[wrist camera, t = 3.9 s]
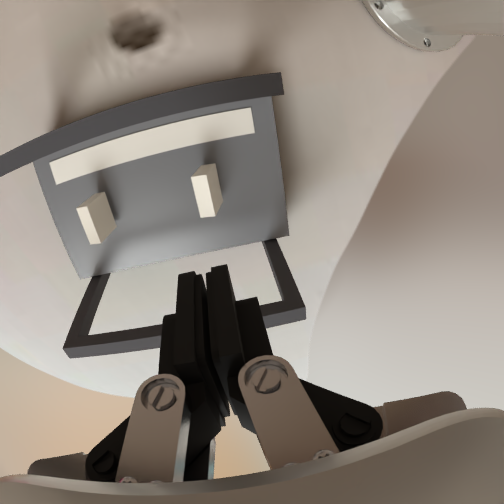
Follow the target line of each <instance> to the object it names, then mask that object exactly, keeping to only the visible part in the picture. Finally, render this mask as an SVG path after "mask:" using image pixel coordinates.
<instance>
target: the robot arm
mask: <svg viewBox="0 0 504 504" xmlns="http://www.w3.org/2000/svg"><path fill="white" fill-rule="evenodd" d="M362 2H363V3H364V5H365V7H366V8H367V10H368V11H369V13H370V14H371V15H372V17H373V18H374V19H375V20H376V22H377V23H378V24H379V25H380V26H381V27H382V28H383V29H384V30H385V31H386V32H387V33H389V34H390V35H391V36H393V37H394V38H395V39H397V40H398V41H400V42H401V43H403V44H405V45H407V46H409V47H412V48H415V49H417V50H422V51H429V52H432V51H444V50H448V49H450V48H451V47H453V46H455V45H456V44H457V43H458V42H459V41H460V40H461V38H462V37H463V35H496V36H504V0H362ZM375 6H376V7H375ZM206 286H207V290H206V287H205V283H204V280H203V277H202V274H199V275H196V273H195V271H192V272H188V273H183V274H179V275H178V287H177V301H176V313H175V314H170V315H165V316H164V317H163V324H162V335H161V346H160V358H159V372H158V375H155V376H153V377H150V378H149V379H147V380H146V381H144V382H143V383H142V385H141V386H140V387H139V389H138V391H137V393H136V396H135V400H134V404H133V407H132V411H131V415H130V416H129V417H128V418H127V419H125V420H124V421H123V422H122V423H121V424H120V425H119V426H118V427H117V428H116V429H114V430H113V431H112V432H111V433H110V434H109V435H108V436H106V438H104V439H103V440H102V441H101V442H100V443H99V444H97V445H96V446H95V447H94V448H93V449H92V450H91V452H90V453H89V454H84V453H83V452H81V453H76V454H70V455H65V456H59V457H53V458H47V459H40V460H37V461H35V462H34V463H32V464H31V465H30V467H29V469H28V474H17V475H9V476H4V477H1V478H0V504H504V411H503V410H500V409H495V408H475V409H467V408H466V405H465V403H464V401H463V400H462V398H461V397H459V396H458V395H457V394H456V393H453V392H449V391H446V392H439V393H434V394H429V395H425V396H420V397H415V398H409V399H404V400H398V401H393V402H387V403H384V404H383V406H379V407H371V406H369V405H367V404H364V403H362V402H359V401H356V400H353V399H351V398H348V397H345V396H342V395H340V394H337V393H334V392H332V391H329V390H327V389H324V388H322V387H319V386H316V385H314V384H311V383H309V382H307V381H304V380H302V379H299V378H298V377H297V375H296V373H295V371H294V369H293V367H292V366H291V365H290V364H289V362H288V361H286V360H285V359H283V358H281V357H278V356H274V355H273V353H272V350H271V346H270V342H269V339H268V335H267V331H266V328H265V324H264V320H263V317H262V313H261V309H260V306H259V302H258V299H257V297H254V298H249V299H244V300H240V301H236V300H235V296H234V291H233V287H232V283H231V279H230V275H229V271H228V266H227V264H225V265H221V266H216V267H211V272H208V273H206ZM228 400H229V403H230V405H231V407H232V410H233V412H234V414H235V415H237V416H238V418H239V421H240V423H241V425H242V427H244V428H246V429H248V430H249V431H251V432H253V433H255V434H256V435H257V438H258V440H259V443H260V445H261V448H262V450H263V453H264V455H265V458H266V460H267V463H268V465H269V467H270V470H269V471H264V472H258V473H253V474H247V475H240V476H234V477H226V478H219V479H213V477H214V460H215V445H216V443H215V436H216V435H217V434H218V433H219V432H220V431H221V426H226V425H225V417H227V416H230V409H229V403H228Z"/></svg>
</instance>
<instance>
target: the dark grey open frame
mask: <svg viewBox="0 0 504 504" xmlns="http://www.w3.org/2000/svg"><path fill="white" fill-rule="evenodd" d="M276 95H284V91H283V84H282V77H281V72H279V73H270V74H262V75H254V76H247V77H241V78H234V79H228V80H222V81H217V82H212V83H207V84H202V85H197V86H192V87H188V88H183V89H179V90H175V91H171V92H167V93H163V94H159V95H155V96H151V97H148V98H144V99H141V100H137V101H134V102H131V103H127V104H124V105H121V106H118V107H115V108H112V109H109V110H106V111H103V112H100V113H97V114H94V115H91V116H89V117H86V118H83V119H81V120H78V121H75V122H73V123H70V124H68V125H65V126H63V127H61V128H58V129H56V130H53V131H51V132H49V133H47V134H44V135H42V136H40V137H38V138H35V139H33V140H31V141H29V142H27V143H25V144H23V145H21V146H19V147H17V148H15V149H13V150H11V151H9V152H7V153H5V154H3V155H1V156H0V177H1V176H3V175H5V174H7V173H9V172H11V171H13V170H16V169H18V168H20V167H22V166H24V165H26V164H29V163H31V162H33V161H35V160H38V159H40V158H42V157H45V156H47V155H50V154H52V153H54V152H57V151H59V150H62V149H65V148H67V147H70V146H72V145H75V144H78V143H81V142H83V141H86V140H89V139H92V138H95V137H98V136H100V135H103V134H106V133H110V132H113V131H116V130H119V129H122V128H125V127H129V126H132V125H136V124H139V123H143V122H146V121H150V120H154V119H157V118H161V117H165V116H169V115H173V114H177V113H181V112H186V111H190V110H195V109H199V108H204V107H209V106H214V105H219V104H225V103H230V102H236V101H242V100H248V99H255V98H261V97H269V96H276ZM262 243H263V246H264V249H265V252H266V255H267V257H268V260H269V263H270V266H271V269H272V272H273V275H274V278H275V280H276V283H277V286H278V289H279V292H280V295H281V298H282V301H279V302H274V303H270V304H265V305H260V309H261V313H262V317H263V320H264V324H265V328H270V327H274V326H279V325H283V324H288V323H292V322H296V321H301V320H305V319H306V308H305V305H304V302H303V300H302V298H301V295H300V293H299V291H298V288H297V286H296V283H295V281H294V279H293V276H292V274H291V272H290V269H289V267H288V265H287V262H286V260H285V258H284V256H283V253H282V251H281V249H280V246H279V244H278V242H277V239H276V238H275V239H270V240H265V241H262ZM110 274H111V273H107V274H102V275H98V276H93V277H92V279H91V281H90V283H89V285H88V288H87V290H86V292H85V294H84V297H83V299H82V301H81V304H80V306H79V308H78V311H77V313H76V315H75V318H74V320H73V323H72V325H71V328H70V330H69V333H68V336H67V338H66V341H65V343H64V346H63V350H64V351H65V353H66V354H67V355H68V357H69V358H80V357H90V356H99V355H108V354H117V353H125V352H132V351H140V350H147V349H154V348H160V346H161V335H162V324H160V325H154V326H148V327H142V328H136V329H129V330H123V331H116V332H109V333H102V334H95V335H88V334H89V331H90V328H91V325H92V322H93V319H94V316H95V313H96V311H97V308H98V305H99V302H100V300H101V297H102V294H103V292H104V289H105V286H106V284H107V281H108V279H109V276H110Z"/></svg>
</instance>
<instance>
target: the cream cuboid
mask: <svg viewBox="0 0 504 504" xmlns="http://www.w3.org/2000/svg"><path fill="white" fill-rule="evenodd" d="M191 180H192V184H193V189H194V193H195V197H196V201H197V205H198V209H199V213H200V217H201V218H204V217H214V216H216V214H217V212H218V210H219V208H220V206H221V204H222V202H223V198H222V194H221V189H220V184H219V179H218V174H217V169H216V164H215V163H214V164H207V165H201V166H200V167H199V168H198V169H197V171H196V172H195V173H194V174H193V175H192V176H191Z"/></svg>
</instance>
